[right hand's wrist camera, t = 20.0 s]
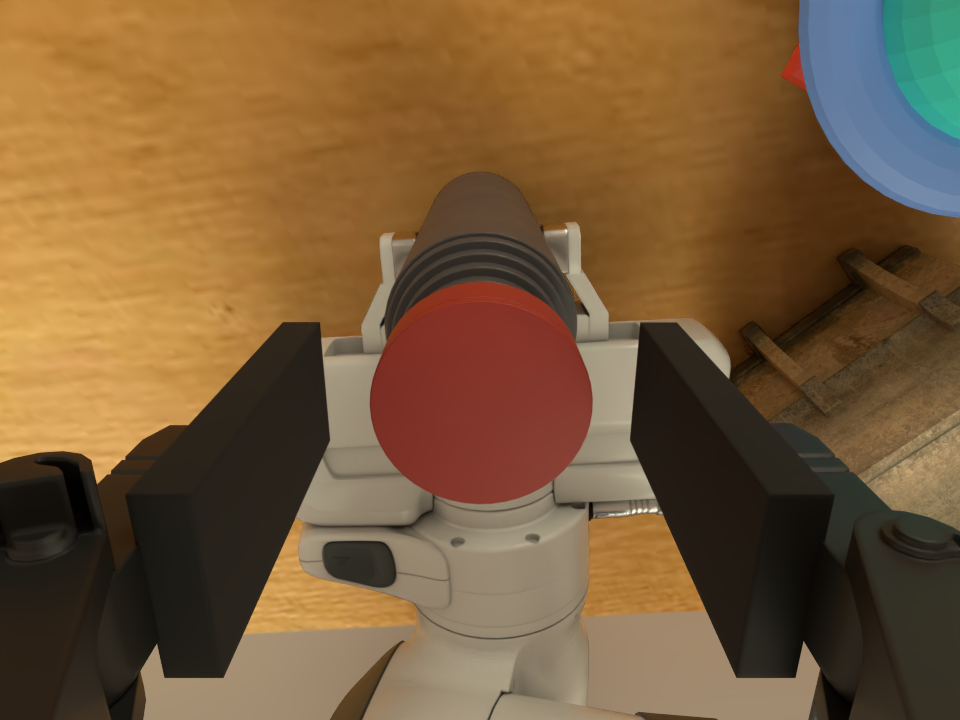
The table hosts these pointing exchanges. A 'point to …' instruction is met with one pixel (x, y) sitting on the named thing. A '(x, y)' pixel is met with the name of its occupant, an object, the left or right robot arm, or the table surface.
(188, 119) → the table surface
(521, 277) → the bottle
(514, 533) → the left robot arm
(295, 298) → the table surface
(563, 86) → the table surface
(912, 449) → the miniature house
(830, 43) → the toy flying saucer
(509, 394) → the cap
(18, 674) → the right robot arm
